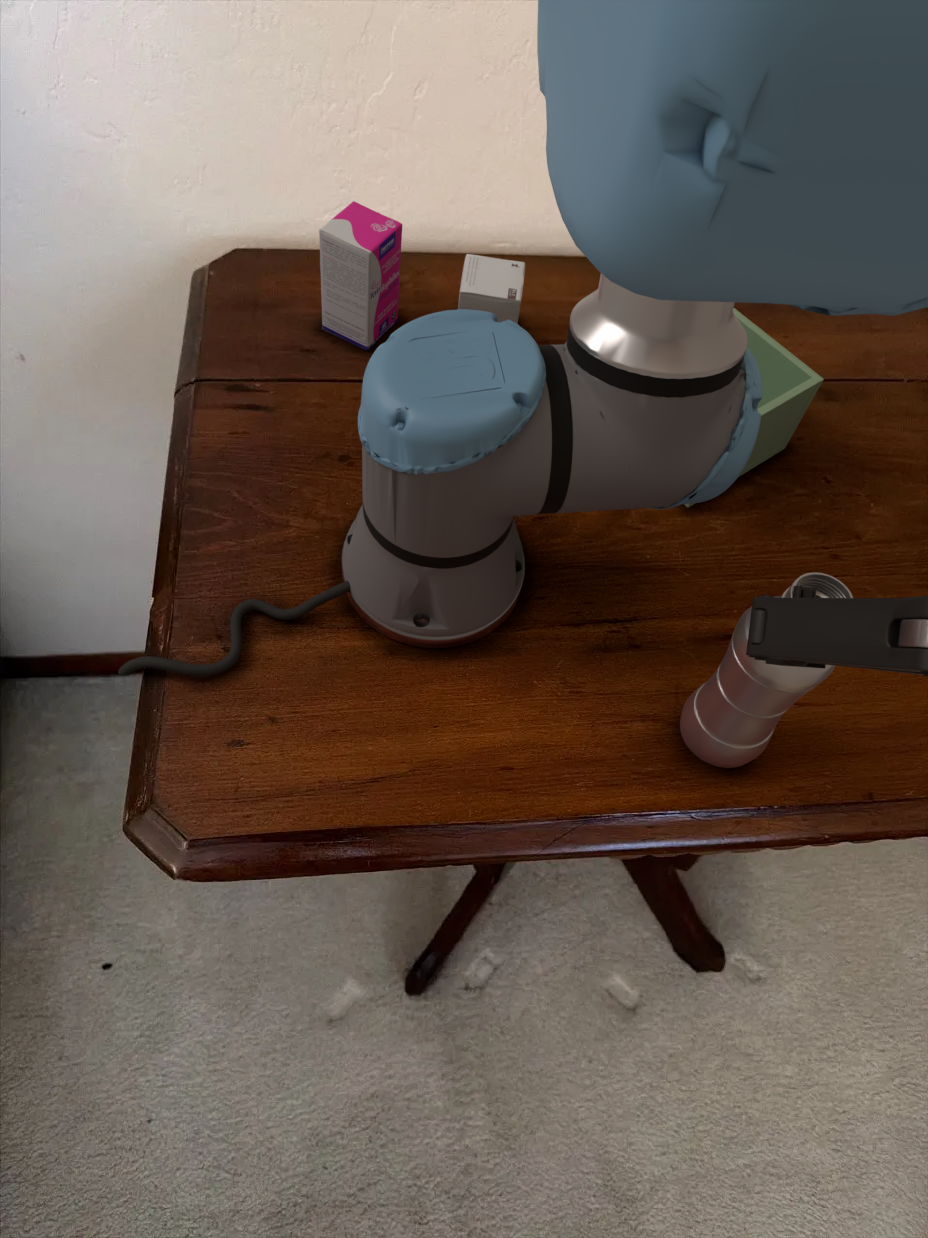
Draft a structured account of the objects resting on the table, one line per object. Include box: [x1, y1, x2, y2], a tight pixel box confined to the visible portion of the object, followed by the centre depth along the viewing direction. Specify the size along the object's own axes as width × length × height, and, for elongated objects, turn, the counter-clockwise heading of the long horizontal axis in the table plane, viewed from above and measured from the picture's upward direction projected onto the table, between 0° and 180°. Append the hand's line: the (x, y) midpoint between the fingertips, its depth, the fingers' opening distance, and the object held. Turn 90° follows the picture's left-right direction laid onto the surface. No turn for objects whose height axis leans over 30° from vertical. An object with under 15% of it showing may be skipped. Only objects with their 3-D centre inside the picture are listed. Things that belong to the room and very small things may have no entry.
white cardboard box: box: [457, 253, 526, 324], centre depth 88 cm, size 6×6×7 cm
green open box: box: [683, 307, 825, 508], centre depth 82 cm, size 14×14×9 cm
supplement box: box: [318, 201, 403, 351], centre depth 85 cm, size 6×6×12 cm
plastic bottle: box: [679, 571, 854, 769], centre depth 60 cm, size 6×7×20 cm
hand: (913, 655), depth 44 cm, fingers open, 13 cm apart
